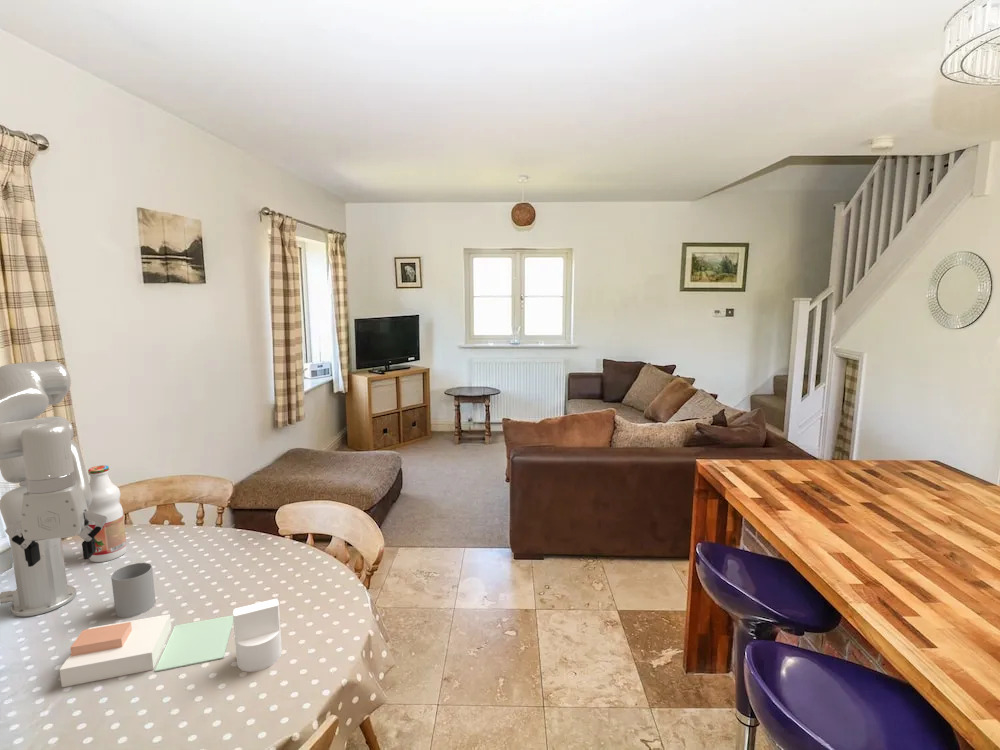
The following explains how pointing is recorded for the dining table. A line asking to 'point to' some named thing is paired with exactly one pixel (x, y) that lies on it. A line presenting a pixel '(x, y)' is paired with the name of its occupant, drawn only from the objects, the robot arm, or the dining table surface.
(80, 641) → the tile
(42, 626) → the dining table surface
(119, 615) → the cup
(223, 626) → the mat
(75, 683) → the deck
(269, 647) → the cylinder with rectangular tab
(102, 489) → the fruit juice
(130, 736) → the dining table surface
